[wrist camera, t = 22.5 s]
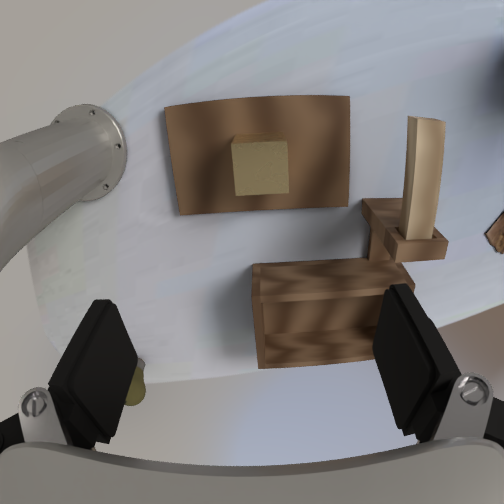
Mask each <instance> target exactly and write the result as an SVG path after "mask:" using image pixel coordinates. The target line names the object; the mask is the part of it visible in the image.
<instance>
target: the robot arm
mask: <svg viewBox="0 0 504 504" xmlns="http://www.w3.org/2000/svg"><path fill="white" fill-rule="evenodd" d="M94 111H95V114H94ZM119 144H120V145H121V147H120V146H119ZM126 162H127V145H126V140H125V136H124V133H123V131H122V129H121V127H120V125H119V123H118V122H117V121H116V119H115V118H114V117H113V116H112V115H111V114H110V113H109V112H107V111H106V110H104V109H102V108H101V107H98V106H95V105H91V104H82V105H76V106H73V107H69V108H67V109H66V110H64V111H62V112H61V113H60V114H59V115H58V116H57V117H56V118H55V119H54V120H53V122H52V123H51V125H49V126H46V127H43V128H40V129H37V130H34V131H31V132H28V133H25V134H23V135H20V136H17V137H14V138H12V139H9V140H6V141H4V142H1V143H0V272H1V270H2V269H3V268H4V267H5V266H6V264H7V263H8V262H9V261H10V260H11V259H12V258H13V257H14V256H15V255H16V254H17V252H19V251H20V250H21V249H22V248H23V247H24V246H25V245H26V244H27V243H28V242H29V241H31V240H32V239H33V238H34V237H35V236H36V235H38V234H39V233H40V232H41V231H42V230H43V229H44V228H46V227H47V226H48V225H49V224H50V223H51V222H53V221H54V220H55V219H56V218H57V217H59V216H60V215H61V214H62V213H64V212H65V211H66V210H67V209H69V208H70V207H71V206H72V205H74V204H75V203H76V202H77V201H79V200H81V201H92V200H96V199H99V198H101V197H103V196H105V195H106V194H107V193H109V192H110V191H111V190H112V189H113V188H114V187H115V186H116V185H117V184H118V182H119V181H120V179H121V178H122V175H123V173H124V170H125V166H126ZM372 350H373V355H374V358H375V361H376V363H377V366H378V369H379V372H380V375H381V378H382V381H383V384H384V387H385V390H386V393H387V396H388V400H389V403H390V406H391V409H392V413H393V416H394V419H395V422H396V425H397V428H398V429H402V431H403V434H404V436H407V435H411V434H415V435H416V438H417V440H418V442H417V444H416V445H411V446H406V447H402V448H398V449H393V450H389V451H384V452H378V453H373V454H368V455H362V456H356V457H350V458H344V459H337V460H329V461H321V462H312V463H301V464H288V465H271V466H210V465H192V464H179V463H169V462H159V461H151V460H144V459H137V458H131V457H125V456H119V455H113V454H108V453H103V452H98V451H96V449H95V447H94V446H95V443H96V442H101V443H106V444H109V442H110V439H111V437H113V436H114V435H115V433H116V430H117V427H118V423H119V419H120V417H121V413H122V410H123V407H124V404H125V400H126V397H127V394H128V391H129V388H130V385H131V382H132V378H133V375H134V372H135V369H136V366H137V363H138V357H137V353H136V351H135V349H134V347H133V344H132V342H131V340H130V338H129V335H128V333H127V330H126V328H125V326H124V323H123V321H122V318H121V316H120V313H119V311H118V308H117V306H116V305H115V304H114V303H112V301H111V300H108V299H105V300H94V301H93V303H92V304H91V306H90V308H89V309H88V311H87V313H86V314H85V316H84V318H83V320H82V321H81V323H80V325H79V327H78V328H77V330H76V332H75V334H74V335H73V337H72V339H71V341H70V343H69V344H68V346H67V348H66V350H65V352H64V354H63V356H62V357H61V359H60V362H59V363H58V365H57V367H56V369H55V371H54V373H53V375H52V377H51V379H50V381H49V383H48V385H49V388H48V390H46V389H45V388H41V387H36V388H33V389H30V390H29V391H27V392H26V393H25V394H24V395H23V396H22V397H21V399H20V401H19V405H18V413H17V414H15V415H13V416H12V417H10V418H8V419H6V420H4V421H2V422H0V504H504V401H501V400H499V399H497V398H494V397H493V389H492V386H491V384H490V382H489V381H488V380H487V379H486V378H485V377H484V376H482V375H480V374H477V373H465V374H463V375H462V374H461V372H460V371H459V369H458V367H457V365H456V363H455V361H454V359H453V357H452V355H451V353H450V352H449V350H448V348H447V346H446V344H445V342H444V341H443V339H442V337H441V335H440V334H439V332H438V330H437V328H436V327H435V325H434V323H433V322H432V320H431V319H430V318H428V317H427V315H426V313H425V311H424V310H423V308H422V306H421V305H420V303H419V302H418V300H417V298H416V297H415V295H414V293H413V292H412V290H411V289H410V287H409V285H408V284H407V283H402V284H392V285H390V287H389V289H386V290H385V292H384V297H383V301H382V306H381V311H380V315H379V320H378V324H377V328H376V332H375V336H374V340H373V345H372Z"/></svg>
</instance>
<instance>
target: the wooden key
mask: <svg viewBox="0 0 504 504" xmlns="http://www.w3.org/2000/svg"><path fill="white" fill-rule="evenodd" d="M445 123H446V122H444V121H440V120H437V119H432V118H423V117H414V116H408V128H407V151H406V166H405V179H404V190H403V199H402V208H401V216H400V224H399V231H398V232H399V233H400V235H401V236H402V237H403V238H404V240H416V239H432V234H433V228H434V223H435V217H436V211H437V205H438V198H439V191H440V183H441V174H442V165H443V154H444V141H445Z"/></svg>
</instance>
